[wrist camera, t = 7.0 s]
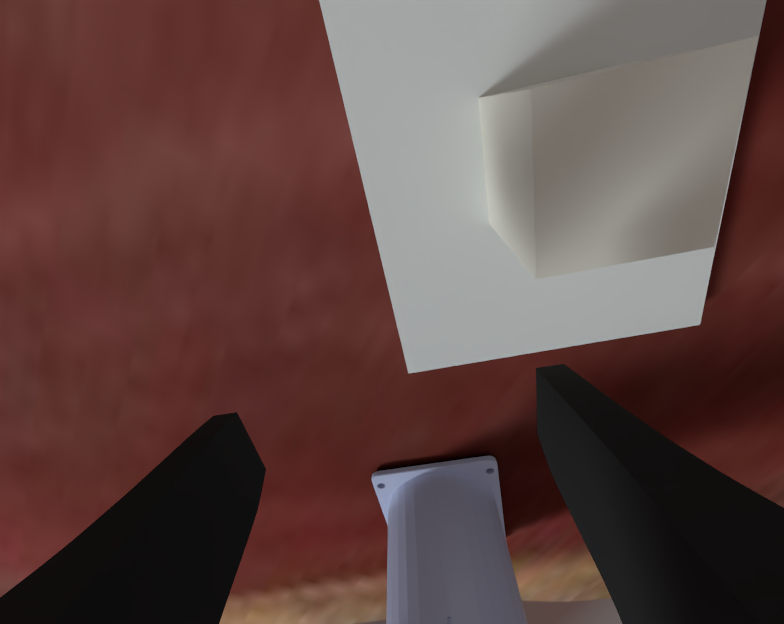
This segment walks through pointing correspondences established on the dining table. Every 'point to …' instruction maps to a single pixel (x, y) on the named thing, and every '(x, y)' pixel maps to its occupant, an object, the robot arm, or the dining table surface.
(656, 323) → the light gray slab
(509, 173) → the cream rectangular prism
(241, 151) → the dining table surface
